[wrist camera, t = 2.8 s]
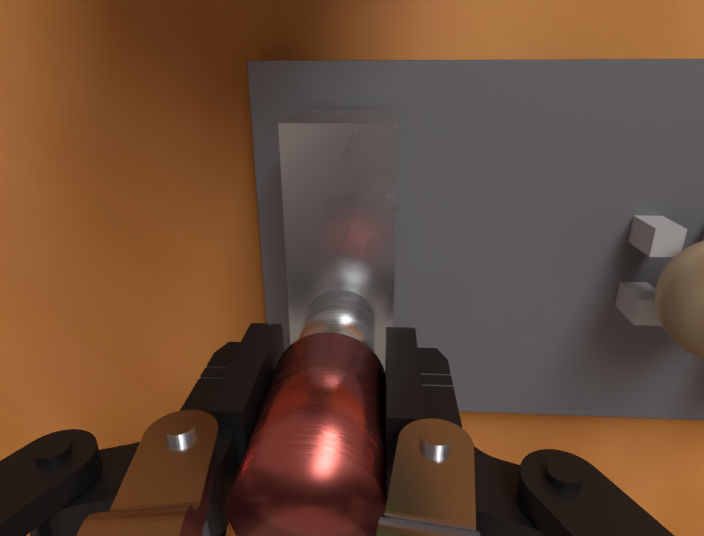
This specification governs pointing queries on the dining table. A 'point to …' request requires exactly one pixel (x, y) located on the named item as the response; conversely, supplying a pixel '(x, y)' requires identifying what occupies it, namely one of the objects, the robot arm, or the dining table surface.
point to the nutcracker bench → (522, 219)
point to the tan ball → (683, 299)
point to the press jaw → (328, 334)
